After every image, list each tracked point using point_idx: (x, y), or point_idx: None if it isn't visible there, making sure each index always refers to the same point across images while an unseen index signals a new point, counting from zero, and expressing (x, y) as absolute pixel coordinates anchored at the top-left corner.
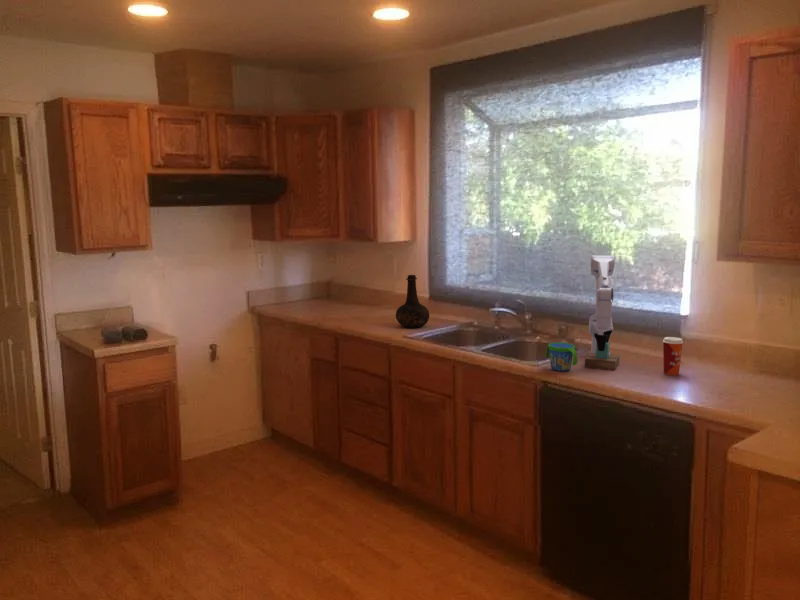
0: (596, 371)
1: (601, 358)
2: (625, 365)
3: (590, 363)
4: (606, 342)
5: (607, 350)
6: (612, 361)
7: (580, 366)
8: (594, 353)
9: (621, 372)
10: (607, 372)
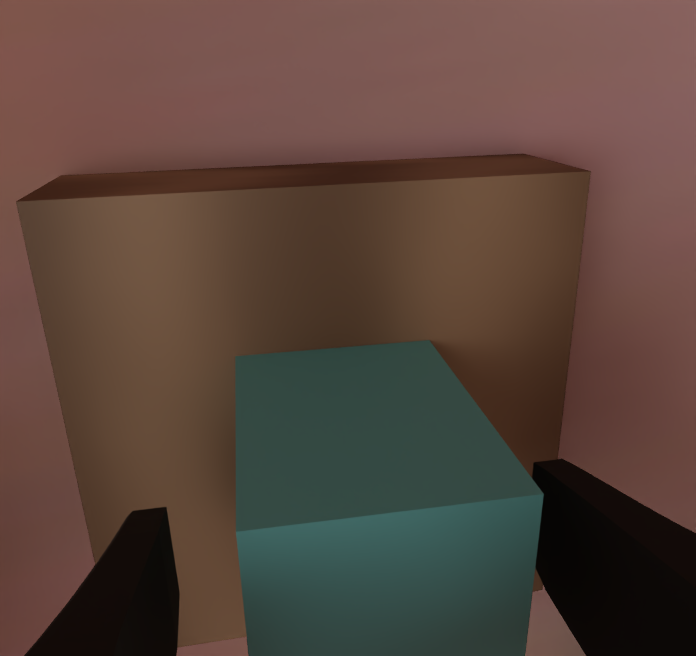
0: (653, 352)
1: None
2: (121, 49)
3: None
4: (285, 591)
5: (483, 414)
6: (582, 221)
7: None
8: None
9: (626, 36)
10: (672, 222)
